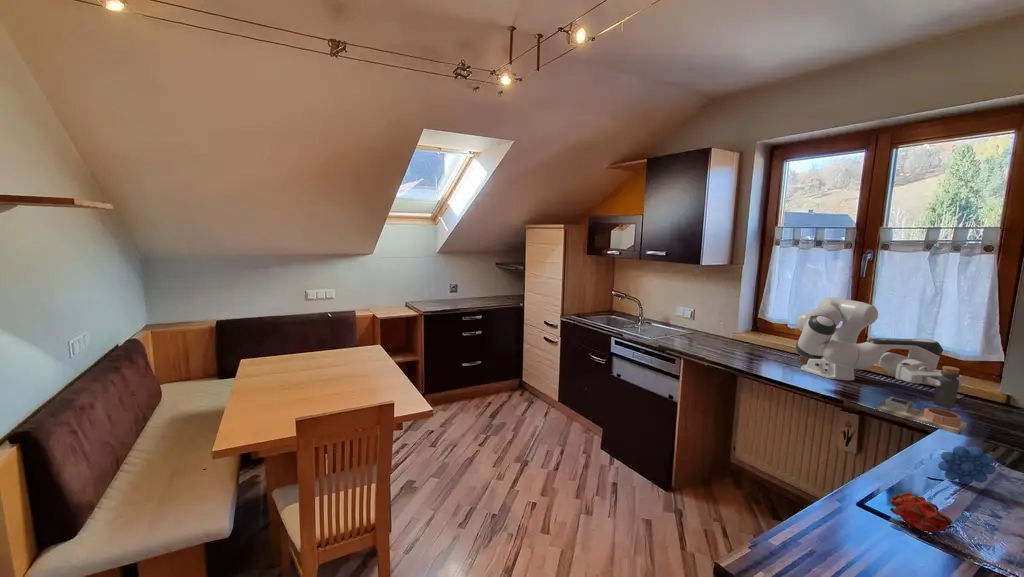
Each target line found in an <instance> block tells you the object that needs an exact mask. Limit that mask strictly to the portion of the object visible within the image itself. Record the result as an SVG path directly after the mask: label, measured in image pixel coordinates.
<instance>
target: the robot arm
mask: <svg viewBox="0 0 1024 577" xmlns="http://www.w3.org/2000/svg"><path fill="white" fill-rule="evenodd" d="M878 316H879V311H878V309H877V307H876V306H875V305H872V304H869V303H867V302H862V301H858V300H854V299H845V298H840V297H824V298H822V299H821V300H820V301H819V302H818V305H817V307H816V308H812V309H811V310H808V311H806V312H804V313H802V314H801V315H799V316H798V317H797V318H796V327H797V328H798V330H800V331H801V334H800V336H799V338H798V340H797V342H796V345H795V349H796V350H795V351H796V353H798V354H799V356H800V355H801V356H803V357H805V358H808V359H809V360H808V362H807V364H803V365H801V367H800V370H802V371H804V372H806V373H807V372H808V373H810V374H813V375H816V376H820V377H823V378H825V379H829V380H841V381H854V380H856V379H855V371H854V370H861V371H862V370H866V369H870V368H872V367H873V366H875V365H876V364H877V362H878V365H879V367H880V368H882V369H883V370H884V371H886V372H887V373H890V374H892V375H894V376H895V379H896V380H899V381H904V382H908V383H911V384H918V385H920V384H927V385H928V384H930V385H935V386H936V385H937V386H943V382H942V381H940V380H938V377H939V376H942V374H941V371H942V370H943V369H937V366H938V363H939V361H940V358H941V356H942V354H943V352H944V348H943V347H942V346H941V343H940V342H939V341H936V340H934V339H930V338H882V337H881V338H879V337H877V338H869V339H868V340H867V341H865V342H861V343H857V342H858V337H859V335H860V333H861V332H862V330H864V329H865V328H866V327H868V326H870V325H872V324H874V323H875V322H876V321H877V319H878V318H879V317H878ZM841 322H842V325H841V326H840V327H838V326H839V325H840V324H841ZM891 350H908V354H907V356H905V355H902V354H899V353H894V352H889V351H891ZM957 379H958V380H959V387H958V388H961V387H962V383H963V379H964V377H963V375H961V374H960V375H959V377H957Z"/></svg>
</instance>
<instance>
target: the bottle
mask: <svg viewBox="0 0 1024 577" xmlns="http://www.w3.org/2000/svg"><path fill="white" fill-rule="evenodd" d="M941 370H942V371H941V374H942V376H939V377H938V380H940V381H942V382H943V386H937V385H935V386H936V387H935V391H934V396H933V401H932V404H934V405H935V406H938V407H940V408H943V409H944V408H945V409H954V408H955V405H956V400H957V395H958V390H959V388H960V387H959V380H958V379H957V377H959V375H961V374H960V370H961V369H960V368H958V367H954V366H949V365H943V366H942V369H941Z"/></svg>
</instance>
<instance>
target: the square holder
mask: <svg viewBox="0 0 1024 577" xmlns="http://www.w3.org/2000/svg"><path fill="white" fill-rule="evenodd" d="M885 400H886V401H885V407H887V408H890V409H894V410H897V411H901V412H904V413H908V412H909V411H911V410H912V408H914V407H913V405H914V402H913V401H909V400H906V399H902V398H899V397H894V396H890V397H888V398H887V399H885Z"/></svg>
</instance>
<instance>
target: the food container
mask: <svg viewBox="0 0 1024 577" xmlns="http://www.w3.org/2000/svg"><path fill="white" fill-rule="evenodd" d="M808 360H809V359H808V358H805V357H803V356H801V355H800V354H799V362H800V363H802V364H803V365H807V362H808Z"/></svg>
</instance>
